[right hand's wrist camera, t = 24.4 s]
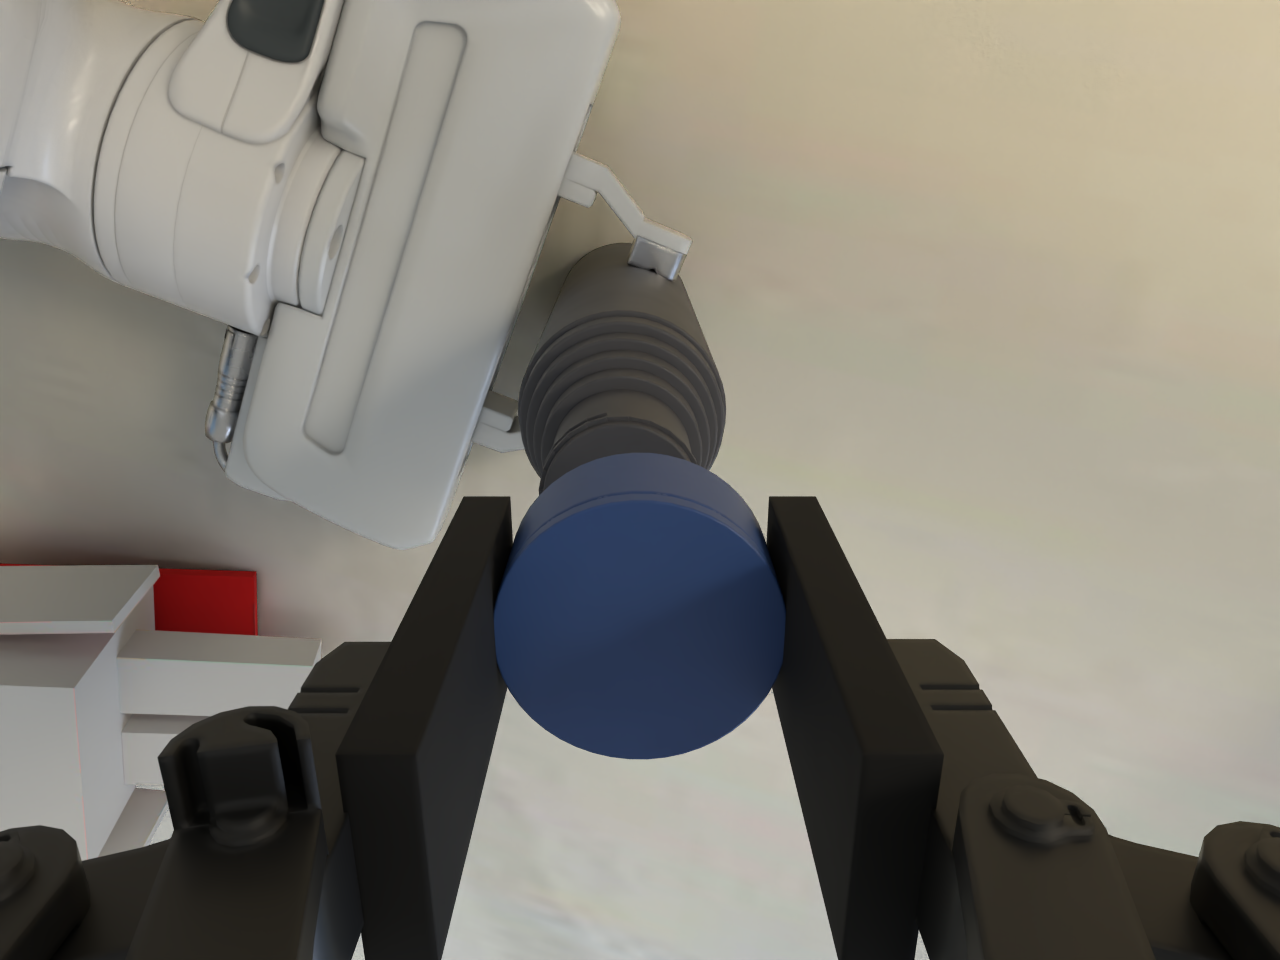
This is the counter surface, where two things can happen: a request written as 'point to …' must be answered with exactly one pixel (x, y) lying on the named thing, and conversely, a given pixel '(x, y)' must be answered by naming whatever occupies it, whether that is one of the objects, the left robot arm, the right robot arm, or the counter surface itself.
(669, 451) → the bottle
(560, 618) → the cap
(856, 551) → the counter surface
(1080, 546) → the counter surface
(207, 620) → the toy
